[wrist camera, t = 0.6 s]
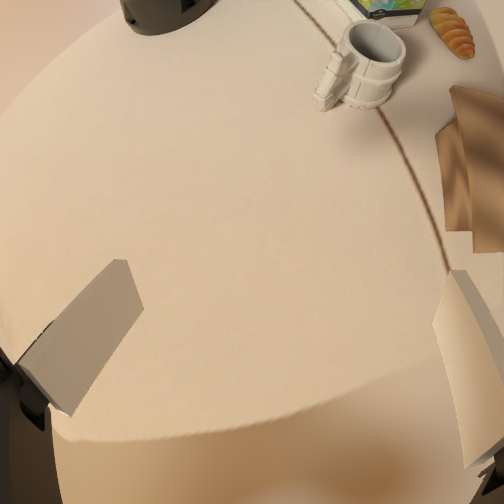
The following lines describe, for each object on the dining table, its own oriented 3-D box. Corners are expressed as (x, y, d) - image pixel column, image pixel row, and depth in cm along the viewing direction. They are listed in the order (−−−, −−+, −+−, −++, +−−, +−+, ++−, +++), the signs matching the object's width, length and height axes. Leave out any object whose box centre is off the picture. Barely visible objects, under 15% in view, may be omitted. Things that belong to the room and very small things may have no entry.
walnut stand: (418, 119, 29) (453, 85, 19) (496, 132, 27) (537, 110, 17) (432, 248, 30) (478, 253, 20) (509, 245, 28) (557, 248, 18)
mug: (399, 92, 29) (433, 42, 17) (336, 143, 31) (356, 97, 19) (356, 53, 29) (373, -6, 18) (291, 99, 31) (287, 40, 19)
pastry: (479, 62, 26) (489, 52, 22) (450, 60, 27) (460, 48, 24) (452, 19, 26) (460, 7, 22) (422, 15, 27) (428, 2, 23)
